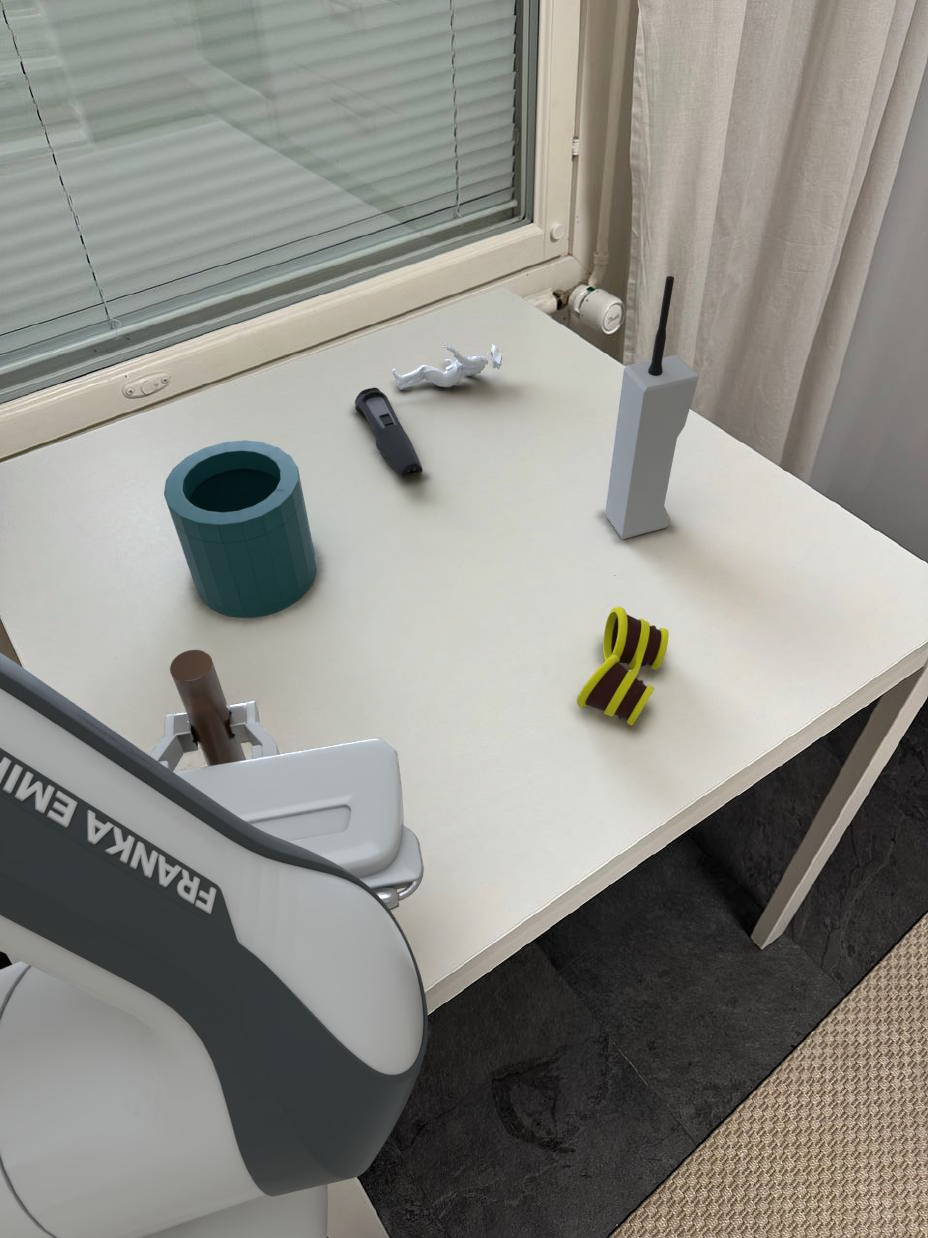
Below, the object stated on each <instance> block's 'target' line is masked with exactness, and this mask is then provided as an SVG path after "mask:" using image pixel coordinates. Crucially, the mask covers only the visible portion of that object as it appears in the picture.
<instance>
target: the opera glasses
mask: <svg viewBox="0 0 928 1238" xmlns="http://www.w3.org/2000/svg"><path fill="white" fill-rule="evenodd" d="M669 635H670V634H669V630H668V629H667V628H665V627H660V628H659V629H658V628H657V626H656V625H654V624H653V625H650V622H648V621H647V620H645V619H643V618H635V617H634V616H631V615H630V614H628V613H627V611H626V610H625V608H624V607H622V606H615V607H613V608H612V609H611V610H610V611H609V614H608V616H607V619H606V621H605V627H604V632H603V641H602V643H603V645H602V647H603V648H602V651H603V652H602V653H603V659H604V662H602V664H601V665H600V666H599V667H597V669H596V670H595V671H594V672H593V674H592V675H591V676H590V677H589V679H588V680H587V681H586V683H585V684H584V685H583V687H582V688H581V690H580V691H579V694H578V696H577V698H576V704H577V706H578V707H579V708H586V707H588V706H589V707H592V708H594V709H597V710H600V711H603V714H604V715H606V716H610V717H614V716H616V717H618V719H619V720H622V719H624V720H626V723H627V724H628V725H629V726H632V727H633V726H634V724H635V722H636V721H637V719H638V717H639V716H640V715H641V713H642V711H643V708H644V707H645V706H646V703H647V702H648V701H649V699H650V697H651V695H652V694H653V692H654V690H655V687H654V686H653V685H651V684H649V685H646V684H644V680H643V679H638V678H637V677H638V675H639V671H640V669H641V667H642V668H643V667H646V666H649V668H650V669H652V670H658V669H660V667H661V665H662V663H663V661H664V658H665V656H666V652H667V648H668V645H669V644H668V643H669V637H670V636H669ZM623 664H624V665H625V664H626V666H627V667H629V668H630V669H629V670H628V669H627V668H626V667H625V666H623Z"/></svg>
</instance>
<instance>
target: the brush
mask: <svg viewBox="0 0 928 1238" xmlns="http://www.w3.org/2000/svg"><path fill="white" fill-rule="evenodd" d="M169 673H170V674H171V677H172V680H173V682H174V685H175V688H176V690H177V692H178V695H179V698H180V700H181V702H182V705H183V708H184V711H185V712H186V713H187V715H188V718H189V720H190V723H191V725H192V728H193V730H194V733H195V735H196V738H197V740H198V746H199V747H200V750H201V752H202V755H203V757H204V760H205V762H206V764H207V767H208V766H214V765H219V764H225V763H231V762H237V761H243V760H247V758H246V755H245V752H244V749H243V747H242V743H240V744H236V743H235V740H234V734H233V733H232V731H231V728H230V716H231V714H230V711H229V705H228V702H227V700H226V696H225V694H224V690H223V688H222V684H221V682H220V678H219V675H218V673H217V670H216V667H215V665H214V660H213V658H212V656H211V655H210V654H209V653H208V652H207V651H204V650H202V649H189V650H185V651H183V652H181V653H179V654H178V655H176V656H175V657H174V658H173V659H172V661H171V663H170V665H169Z"/></svg>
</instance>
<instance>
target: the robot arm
mask: <svg viewBox="0 0 928 1238" xmlns="http://www.w3.org/2000/svg"><path fill="white" fill-rule="evenodd" d="M228 708H229V711H230V714H231V716H230V728H231V731H232V733H233V734H234V740H235V743H236V744H240V743H241V744H245V743H250V744H251V746H252V747H251V749H250V750H251V752H250V753H251V758H250V759H246V760H243V761H237V762H231V763H225V764H219V765H214V766H208V765H207V766H203V767H196V768H191V769H184V770H177V771H175V770H176V768H177V766H178V765H179V762H180V761H181V760H182V758H183V757H184V754H186V753H192V752H197V751H199V743H198V740H197V738H196V735H195V733H194V730H193V728H192V725H191V723H190V720H189V718H188V715H187V713H186V711H185V712H176V713H169V714H165V716H164V735H163V736H164V737H161V738H160V740H159V741H157V743H156V745H155V746H154V748H153V749H152V751H150V753H149V754H148V753H147V752H145V751H143V750H142V749H141V748H139V747H138V746H136V745H135V744H133V743H132V742H131V741H129V740H128V739H126V738H125V737H123V736H122V735H121V734H119V733H118V732H116V731H115V730H113V729H112V728H110V727H109V726H108V725H106V724H104V723H103V722H101V720H99V719H97V718H96V717H94V716H93V715H92V714H91V713H89V712H87V711H86V710H85V709H83V708H81V707H80V706H79V705H77V704H76V703H75V702H73V701H72V700H70V699H69V698H68V697H66V696H64V695H63V694H62V693H60V692H58V690H56V689H54V688H52V687H51V686H50V685H48V684H47V683H46V682H44V681H42V680H41V679H40V678H39V677H37V676H35V675H34V674H33V673H31V672H29V671H28V670H27V669H25V667H22V666H21V665H20V664H18V663H17V662H16V661H14V660H12V659H10V658H9V657H7V656H6V655H5V654H3V653H2V652H0V952H1V953H3V954H6V956H7V958H8V959H9V961H10V963H11V965H9V966H6V967H4V968H1V969H0V1238H328V1225H329V1224H328V1223H329V1221H328V1217H329V1216H328V1213H329V1212H328V1211H329V1199H328V1198H329V1195H328V1193H329V1192H328V1191H329V1189H328V1187H329V1185H330V1184H334V1183H339V1182H343V1181H347V1180H351V1179H355V1178H357V1177H360V1176H361V1175H363V1174H364V1173H365V1172H366V1171H367V1170H368V1169H369V1168H370V1167H371V1166H372V1163H373V1162H374V1160H375V1158H377V1156H378V1154H379V1152H380V1151H381V1150H382V1148H383V1146H384V1145H385V1143H386V1142H387V1140H388V1139H389V1137H390V1135H391V1134H392V1131H393V1129H394V1128H395V1126H396V1124H397V1122H398V1120H399V1118H400V1116H401V1115H402V1113H403V1111H404V1108H405V1107H406V1104H407V1102H408V1100H409V1098H410V1095H411V1094H412V1091H413V1089H414V1086H415V1085H416V1081H417V1078H418V1076H419V1074H420V1071H421V1067H422V1064H423V1061H424V1059H425V1056H426V1051H427V1047H428V1038H429V1012H428V1004H427V999H426V992H425V987H424V983H423V978H422V975H421V972H420V969H419V965H418V962H417V960H416V957H415V955H414V952H413V949H412V948H411V944H410V942H409V941H408V938H407V936H406V934H405V932H404V930H403V929H402V927H401V925H400V923H399V922H398V920H397V918H396V917H395V915H394V913H393V912H392V911H393V910H395V909H397V908H400V901H403V900H405V899H407V898H408V897H410V896H412V894H414V893H415V891H416V890H417V889H418V888H419V886H420V885H421V884H422V881H423V877H424V875H425V873H424V872H425V866H424V859H423V855H422V850H421V844H420V841H419V839H418V836H417V834H415V832H414V831H413V830H412V829H410V828H409V827H408V826H405V813H404V812H405V810H404V798H403V785H402V784H403V783H402V776H401V769H400V762H399V756H398V754H399V753H398V751H397V750H396V749H395V748H394V747H393V746H392V745H390V744H389V743H388V742H387V741H385V740H384V739H382V738H379V737H378V738H377V737H375V738H368V739H362V740H356V741H350V742H345V743H339V744H333V745H332V744H331V745H328V746H327V745H326V746H321V747H315V748H309V749H303V750H297V751H292V752H285V753H280V749H279V746H278V743H277V741H276V740H275V738H273V736H272V735H270V733H269V732H268V731H267V730H266V729H265V728H264V727H263V726H262V725H261V717H260V712H259V708H258V705H257V702H256V700H252V701H244V702H238V703H232V704H229V705H228ZM398 890H401V891H398Z"/></svg>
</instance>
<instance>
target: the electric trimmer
mask: <svg viewBox="0 0 928 1238" xmlns="http://www.w3.org/2000/svg"><path fill="white" fill-rule="evenodd" d="M354 409H355V411H356V412H357V413H363V415H364V416H365V418H366V420H367V422H368V423H369V425H370V427H371V430H372V431H373V435H374V437H375V445H376V448H377V450H378V452H380V454H381V456H383V458H384V459H385V460H386V462H387V463H388V464H389V465H390V466H391V467H392V469H393V470H394V471H395V472H396V474H397V475H398V476H399V477H400V478H406V477H410V476H414V475H417V474H421V473H422V472H423V466H422V463H421V461H420V458H419V457H418V454H417V452H416V450H415V448H414V445H413V443H412V441H411V439H410V437H409V436H408V434H407V432H406V431H405V429H404V427H403V426H402V424H401V422H400V420H399V418H398V416H397V414H396V412H395V410H394V408H393V406H392V404H391V402H390V400H389V397H388V396H387V395H386V394H385V393H384V392H382V391H381V390H380V388H378V387H370V388H365V389H363V390H361V391H360V392H359V393H358V395H357V396H356V397H355V400H354Z"/></svg>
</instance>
